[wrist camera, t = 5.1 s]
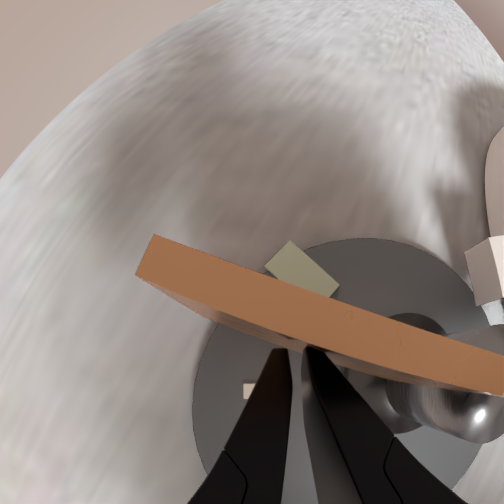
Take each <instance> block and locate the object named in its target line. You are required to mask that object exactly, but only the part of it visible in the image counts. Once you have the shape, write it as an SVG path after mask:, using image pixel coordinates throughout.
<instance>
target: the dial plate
mask: <svg viewBox="0 0 504 504" xmlns="http://www.w3.org/2000/svg"><path fill="white" fill-rule="evenodd" d="M264 267H265V268H266V269H267V270H268V271H267V272H266V273H265V274H264V275H267V276H269V277H272V278H275V279H278V280H281V281H283V282H286V283H289V284H292V285H295V286H298V287H300V288H303V289H306V290H309V291H312V292H315V293H317V294H320V295H323V296H326V297H329V298H332V299H335V300H337V301H340V302H343V303H346V304H349V305H352V306H355V307H358V308H361V309H363V310H366V311H369V312H372V313H375V314H378V315H381V316H384V317H390V316H393V315H396V314H401V313H418V314H422V315H425V316H427V317H429V318H431V319H433V320H434V321H436V322H437V323H438V324H439V325H440V326H441V327H442V328H443V329H444V330H445V332H446V333H447V334H448V333H454V332H460V331H466V330H471V329H477V328H482V327H487V326H490V324H489V322H488V319H487V317H486V314H485V312H484V310H483V309H482V307H481V305H479V306H476V303H475V298H474V294H473V292H472V291H471V289H470V288H469V287H468V285H467V284H466V283H465V282H464V281H463V280H462V279H461V278H460V277H459V276H458V275H457V274H456V273H455V272H454V271H453V270H452V269H450V268H449V267H448V266H447V265H445V264H444V263H443V262H442V261H440V260H438V259H437V258H435V257H433V256H432V255H430V254H428V253H427V252H424V251H422V250H420V249H417V248H415V247H412V246H410V245H407V244H403V243H399V242H395V241H391V240H383V239H374V238H357V239H346V240H340V241H333V242H329V243H326V244H322V245H319V246H315V247H312V248H309V249H307V250H305V251H302V250H301V249H300V248H299V247H297V246H296V245H295V244H294V243H293V242H292V241H291V240H289V241H288V242H287V243H286V244H285V245H284V246H283V247H282V249H281V250H280V251H279V252H278V253H277V254H276V255H275V256H274V257H273V258H272V259H271V260H270V261H269V262H268V263H267V264H266V265H265V266H264ZM273 348H285V347H282V346H279V345H276V344H273V343H270V342H268V341H265V340H262V339H259V338H257V337H254V336H251V335H249V334H246V333H243V332H241V331H238V330H235V329H233V328H230V327H228V326H225V325H223V324H220V323H219V324H218V326H217V327H216V329H215V331H214V333H213V334H212V336H211V338H210V340H209V342H208V344H207V347H206V349H205V352H204V354H203V357H202V359H201V362H200V365H199V369H198V373H197V377H196V381H195V385H194V395H193V404H192V414H193V430H194V436H195V441H196V446H197V450H198V453H199V456H200V458H201V461H202V464H203V466H204V469H205V471H206V473H207V474H209V472H210V470H211V469H212V467H213V465H214V464H215V462H216V460H217V458H218V456H219V455H220V453H221V451H222V450H223V447H224V445H225V444H226V442H227V440H228V438H229V436H230V434H231V432H232V430H233V428H234V426H235V424H236V422H237V420H238V418H239V416H240V414H241V412H242V410H243V408H244V406H245V404H246V402H247V400H248V398H249V396H250V394H251V392H252V390H253V388H254V386H255V384H256V382H257V379H258V377H259V375H260V373H261V371H262V369H263V367H264V365H265V363H266V360H267V358H268V356H269V354H270V352H271V350H272V349H273ZM288 352H289V359H290V366H291V373H292V381H293V393H292V406H291V417H290V428H289V438H288V448H287V458H286V467H285V475H284V484H283V492H282V500H281V504H318V499H317V493H316V488H315V482H314V477H313V471H312V466H311V460H310V455H309V449H308V444H307V439H306V433H305V427H304V419H303V402H302V385H301V364H302V356H303V354H302V353H299V352H296V351H293V350H290V349H288ZM335 366H336V367H337V368H338V369H339V370H340V371H341V373H342V374H343V375H344V370H345V367H343V366H339V365H336V364H335ZM395 436H396V437H397V438H398V439H399V440H400V441H401V443H402V444H403V445H404V446H405V447H406V448H407V449H408V450H409V452H410V453H411V454H412V455H413V456H414V457H415V458H416V459H417V460H418V461H419V462H420V463H421V464H422V465H423V466H424V467H425V468H426V469H428V470H429V471H430V472H431V473H432V474H433V475H434V476H435V477H436V478H438V479H439V480H440V481H441V482H442V483H443V484H445V485H446V486H447V487H448V488H449V489H450V490H451V489H452V488H453V487H454V486H455V485H456V484H457V482H458V481H459V480H460V479H461V477H462V476H463V475H464V474H465V472H466V471H467V470H468V468H469V467H470V465H471V463H472V462H473V460H474V459H475V457H476V455H477V454H478V452H479V450H480V448H481V446H482V444H476V443H472V442H469V441H466V440H463V439H460V438H457V437H454V436H452V435H449V434H446V433H443V432H441V431H438V430H435V429H433V428H430V427H428V426H425V425H423V426H421V427H419V428H417V429H415V430H413V431H410V432H407V433H401V434H394V437H395Z"/></svg>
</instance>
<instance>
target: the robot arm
mask: <svg viewBox="0 0 504 504" xmlns="http://www.w3.org/2000/svg"><path fill="white" fill-rule="evenodd" d="M301 385H302V402H303V419H304V427H305V433H306V439H307V444H308V449H309V455H310V460H311V466H312V471H313V477H314V482H315V488H316V493H317V499H318V504H468V503H466V502H465V501H464V500H462V499H461V498H460V497H459V496H458V495H456V494H455V493H454V492H453V491H452V490H450V489H449V488H448V487H447V486H446V485H445V484H443V483H442V482H441V481H440V480H439V479H438V478H436V477H435V476H434V475H433V474H432V473H431V472H430V471H429V470H428V469H426V468H425V467H424V466H423V465H422V464H421V463H420V462H419V461H418V460H417V459H416V458H415V457H414V456H413V455H412V454H411V453H410V452H409V450H408V449H407V448H406V447H405V446H404V445H403V444H402V443H401V441H400V440H399V439H398V438H397V437H396V436H395V437H394V433H393V432H392V431H391V430H390V429H389V428H388V426H387V425H386V424H385V423H384V422H383V421H382V419H381V418H380V417H379V416H378V415H377V414H376V412H375V411H374V410H373V409H372V408H371V407H370V405H369V404H368V403H367V402H366V401H365V400H364V398H363V397H362V396H361V395H360V394H359V393H358V391H357V390H356V389H355V388H354V387H353V386H352V384H351V383H350V382H349V381H348V380H347V378H346V377H345V376H344V375H343V374H342V373H341V371H340V370H339V369H338V368H337V367H336V366H335V364H334V363H333V362H332V361H331V360H330V358H329V357H328V356H327V355H326V354H325V353H324V352H322V351H318V350H315V349H312V348H308V347H305V348H304V350H303V356H302V364H301ZM292 393H293V381H292V373H291V366H290V359H289V352H288V349H287V348H273V349H272V350H271V352H270V354H269V356H268V358H267V360H266V363H265V365H264V367H263V369H262V371H261V373H260V375H259V377H258V379H257V382H256V384H255V386H254V388H253V390H252V392H251V394H250V396H249V398H248V400H247V402H246V404H245V406H244V408H243V410H242V412H241V414H240V416H239V418H238V420H237V422H236V424H235V426H234V428H233V430H232V432H231V434H230V436H229V438H228V440H227V442H226V444H225V445H224V447H223V450H222V451H221V453H220V455H219V456H218V458H217V460H216V462H215V464H214V465H213V467H212V469H211V470H210V472H209V474H208V475H207V477H206V479H205V480H204V482H203V483H202V485H201V486H200V487H199V489H198V490H197V491H196V493H195V494H194V496H193V497H192V498H191V499H190V501H189V502H188V503H187V504H281V500H282V492H283V484H284V475H285V467H286V458H287V448H288V438H289V428H290V417H291V406H292Z"/></svg>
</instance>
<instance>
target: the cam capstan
mask: <svg viewBox="0 0 504 504" xmlns="http://www.w3.org/2000/svg"><path fill="white" fill-rule="evenodd" d="M135 275H136V276H137V277H139V278H140V279H142V280H144V281H145V282H147V283H148V284H150V285H152V286H153V287H155V288H156V289H158V290H160V291H161V292H163V293H164V294H166V295H168V296H169V297H171V298H173V299H174V300H176V301H178V302H179V303H181V304H183V305H184V306H186V307H188V308H189V309H191V310H193V311H195V312H196V313H198V314H200V315H201V316H203V317H205V318H208V319H210V320H212V321H215V322H218V323H220V324H223V325H225V326H228V327H230V328H233V329H235V330H238V331H241V332H243V333H246V334H249V335H251V336H254V337H257V338H259V339H262V340H265V341H268V342H270V343H273V344H276V345H279V346H282V347H285V348H287V349H290V350H293V351H296V352H299V353H302V354H303V350H304V348H305V347H308V348H312V349H315V350H318V351H322V352H324V353H325V354H326V355H327V356H328V357H329V358H330V360H331V361H332V362H333V363H334V364H336V365H339V366H343V367H345V370H344V376H345V377H346V378H347V380H348V381H349V382H350V383H351V384H352V386H353V387H354V388H355V389H356V390H357V391H358V393H359V394H360V395H361V396H362V397H363V398H364V400H365V401H366V402H367V403H368V404H369V405H370V407H371V408H372V409H373V410H374V411H375V412H376V414H377V415H378V416H379V417H380V418H381V419H382V421H383V422H384V423H385V424H386V425H387V426H388V428H389V429H390V430H391V431H392V432H393V433H394V434H401V433H407V432H410V431H413V430H415V429H417V428H419V427H421V426H423V425H425V426H428V427H430V428H433V429H435V430H438V431H441V432H443V433H446V434H449V435H452V436H454V437H457V438H460V439H463V440H466V441H469V442H472V443H476V444H483V443H488V442H490V441H493V440H495V439H496V438H498V437H499V436H501V435H502V434H503V433H504V324H498V325H492V326H487V327H482V328H477V329H471V330H466V331H460V332H454V333H448V334H447V333H446V332H445V330H444V329H443V328H442V327H441V326H440V325H439V324H438V323H437V322H436V321H434V320H433V319H431V318H429V317H427V316H425V315H422V314H418V313H401V314H396V315H393V316H390V317H384V316H381V315H378V314H375V313H372V312H369V311H366V310H363V309H361V308H358V307H355V306H352V305H349V304H346V303H343V302H340V301H337V300H335V299H332V298H329V297H326V296H323V295H320V294H317V293H315V292H312V291H309V290H306V289H303V288H300V287H298V286H295V285H292V284H289V283H286V282H283V281H281V280H278V279H275V278H272V277H269V276H267V275H264V274H261V273H258V272H256V271H253V270H250V269H247V268H245V267H242V266H239V265H236V264H234V263H231V262H228V261H225V260H223V259H220V258H217V257H214V256H212V255H209V254H206V253H204V252H201V251H198V250H195V249H193V248H190V247H187V246H185V245H182V244H179V243H177V242H174V241H171V240H169V239H166V238H163V237H161V236H158V235H155V234H154V235H153V237H152V239H151V241H150V243H149V245H148V247H147V249H146V252H145V254H144V256H143V258H142V260H141V262H140V265H139V267H138V269H137V271H136V274H135Z"/></svg>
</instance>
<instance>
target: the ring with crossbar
mask: <svg viewBox="0 0 504 504" xmlns="http://www.w3.org/2000/svg"><path fill="white" fill-rule="evenodd" d="M485 196H486V207H487V216H488V223H489V230H490V235H491V237H488V238H487V239H485V240H484V241H482V242H480V243H479V244H477V245H475V246H474V247H472V248H470V249H469V250H467V251H465V252H464V254H465V257H466V261H467V265H468V270H469V274H470V278H471V283H472V288H473V293H474V298H475V303H476V306H479V305H482V304H486V303H489V302H492V301H495V300H498V299H501V298H504V126H503V127H502V129H501V130H500V131H499V132H498V133H497V134H496V135H495V137H494V138H493V140H492V142H491V144H490V146H489V149H488V153H487V157H486V165H485Z"/></svg>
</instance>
